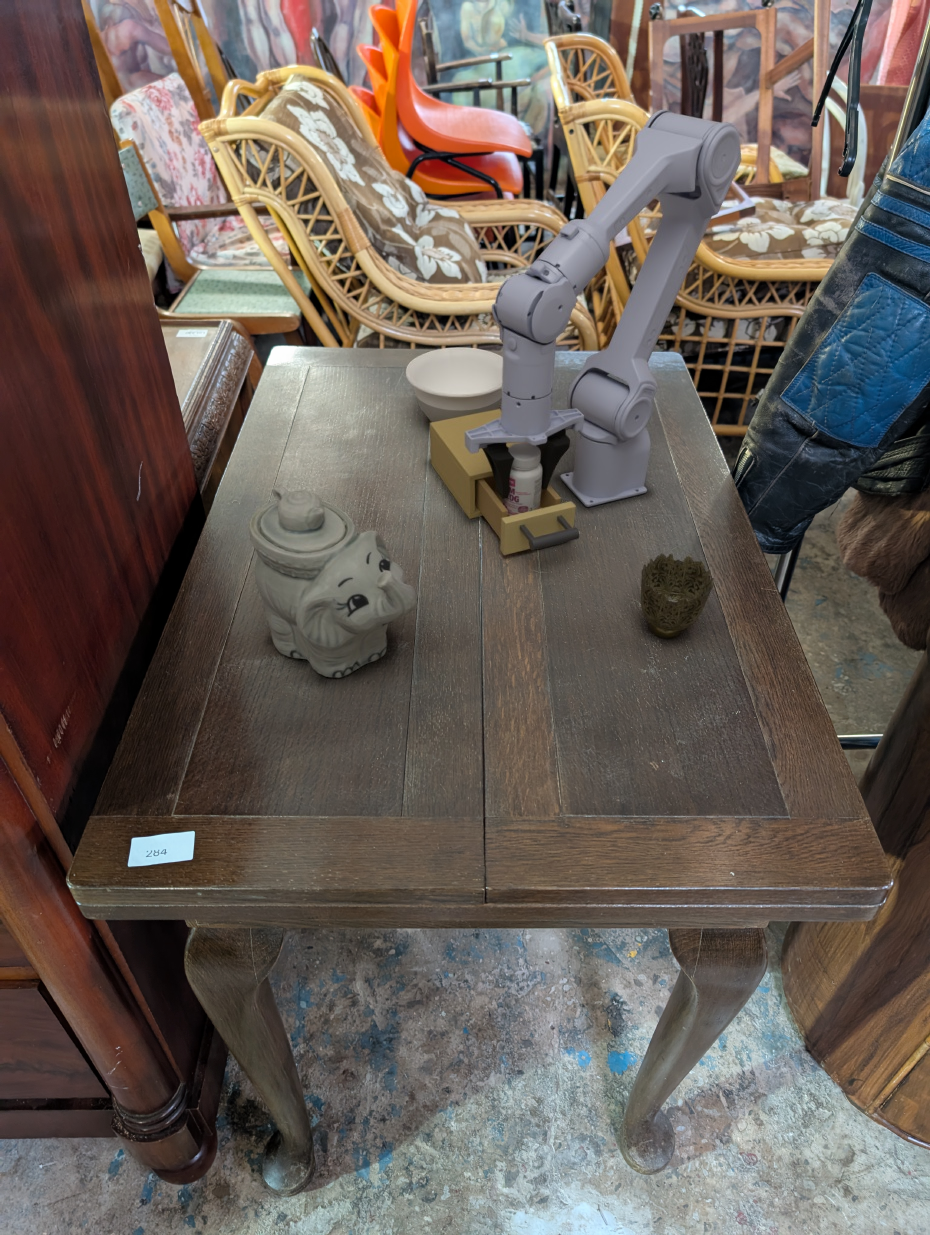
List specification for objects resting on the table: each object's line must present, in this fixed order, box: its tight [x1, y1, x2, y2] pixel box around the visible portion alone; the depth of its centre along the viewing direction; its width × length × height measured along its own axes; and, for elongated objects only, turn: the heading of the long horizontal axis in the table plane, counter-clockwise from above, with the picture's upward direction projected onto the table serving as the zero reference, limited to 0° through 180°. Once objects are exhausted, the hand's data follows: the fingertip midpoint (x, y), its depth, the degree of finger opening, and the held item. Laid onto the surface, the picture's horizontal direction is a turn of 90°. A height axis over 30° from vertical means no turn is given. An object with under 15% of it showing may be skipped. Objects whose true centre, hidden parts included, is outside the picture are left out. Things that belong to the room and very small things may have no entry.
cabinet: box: [429, 408, 529, 520], centre depth 108 cm, size 15×11×7 cm
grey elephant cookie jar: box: [248, 484, 417, 679], centre depth 80 cm, size 16×15×19 cm
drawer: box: [475, 476, 580, 556], centre depth 100 cm, size 18×9×5 cm, turn 22°
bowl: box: [405, 346, 503, 422], centre depth 120 cm, size 16×16×8 cm
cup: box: [640, 552, 715, 639], centre depth 86 cm, size 8×7×8 cm
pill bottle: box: [502, 443, 542, 516], centre depth 98 cm, size 5×5×8 cm
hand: (521, 489), depth 99 cm, fingers closed on pill bottle, 5 cm apart
